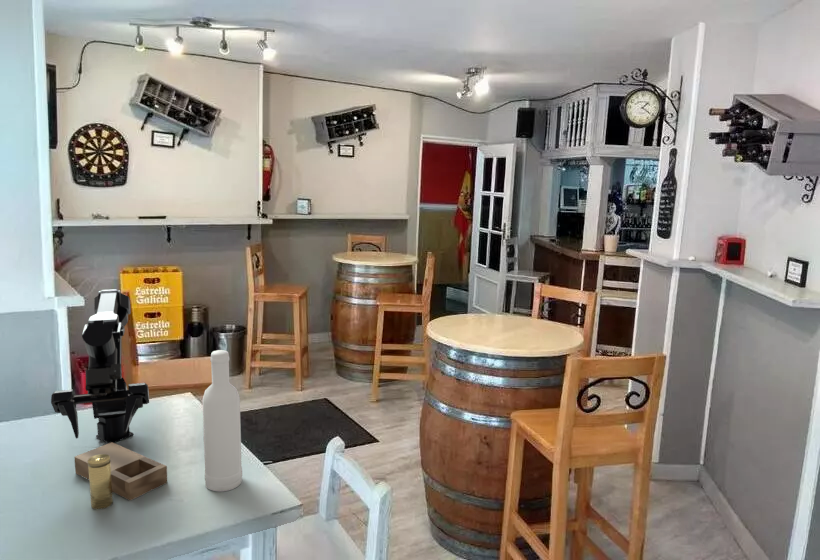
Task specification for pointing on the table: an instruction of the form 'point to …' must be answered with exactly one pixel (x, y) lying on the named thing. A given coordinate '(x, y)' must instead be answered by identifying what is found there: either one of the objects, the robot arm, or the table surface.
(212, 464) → the bottle
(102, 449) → the jig
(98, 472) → the disc
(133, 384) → the robot arm
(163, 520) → the table surface
